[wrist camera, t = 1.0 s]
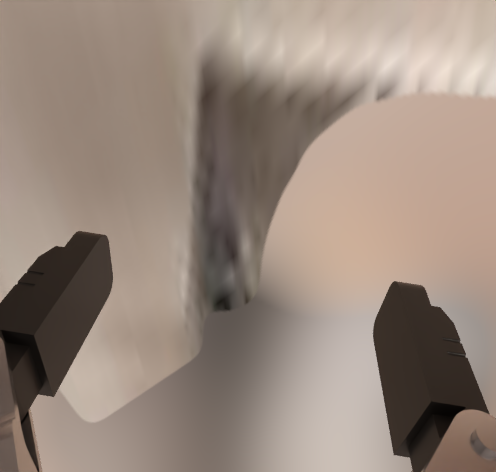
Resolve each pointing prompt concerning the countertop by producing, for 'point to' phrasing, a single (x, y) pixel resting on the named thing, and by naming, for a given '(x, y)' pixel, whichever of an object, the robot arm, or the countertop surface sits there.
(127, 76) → the countertop surface
